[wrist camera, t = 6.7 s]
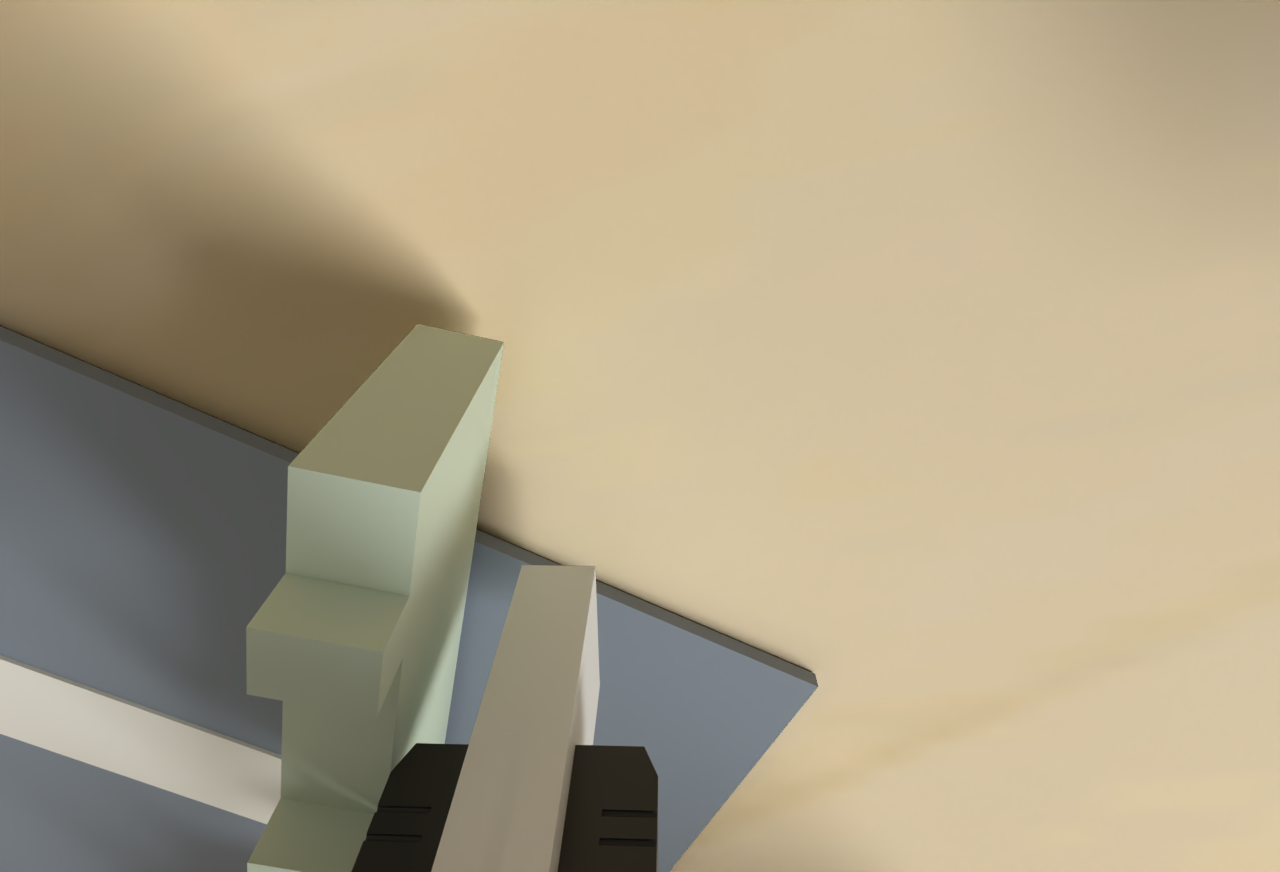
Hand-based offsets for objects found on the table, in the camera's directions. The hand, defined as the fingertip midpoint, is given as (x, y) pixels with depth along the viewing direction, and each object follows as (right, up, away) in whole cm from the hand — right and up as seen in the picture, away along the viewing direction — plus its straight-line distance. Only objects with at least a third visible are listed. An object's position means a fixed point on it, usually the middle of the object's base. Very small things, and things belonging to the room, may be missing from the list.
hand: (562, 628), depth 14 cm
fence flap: (-3, 0, +2) cm, 4 cm away
